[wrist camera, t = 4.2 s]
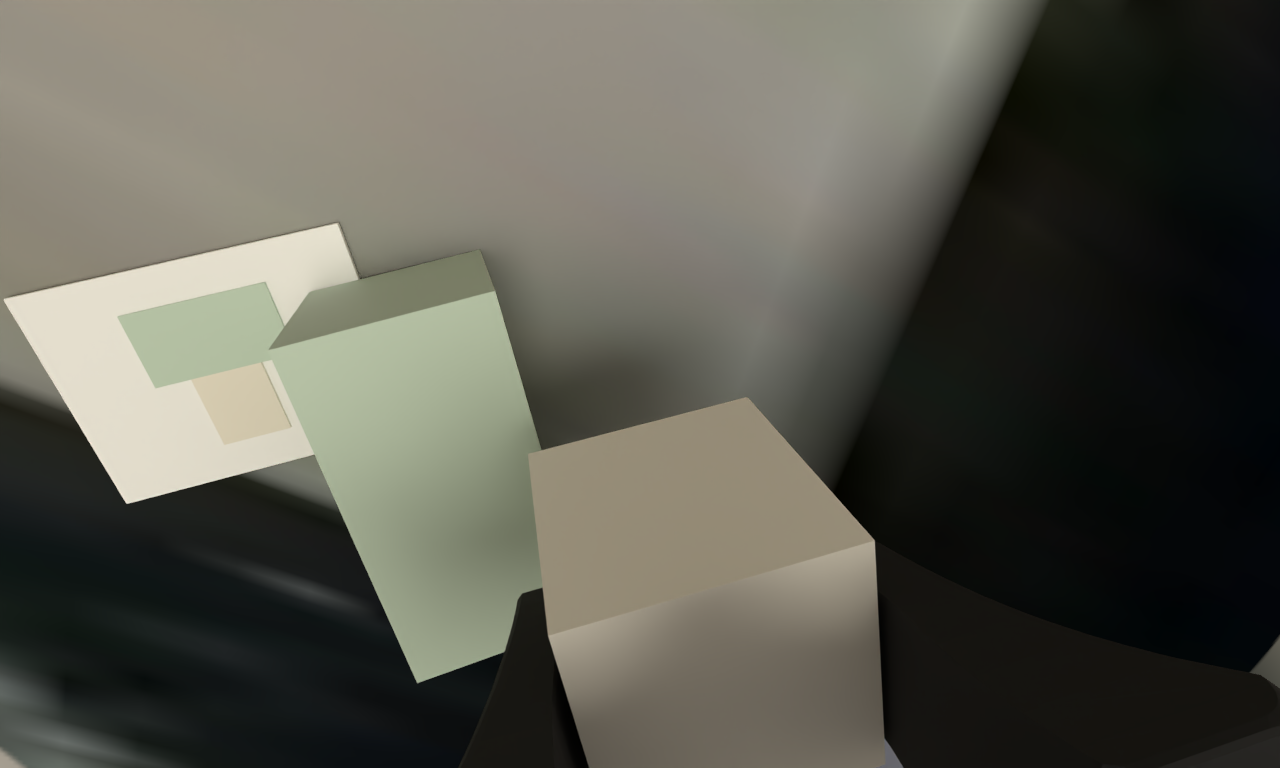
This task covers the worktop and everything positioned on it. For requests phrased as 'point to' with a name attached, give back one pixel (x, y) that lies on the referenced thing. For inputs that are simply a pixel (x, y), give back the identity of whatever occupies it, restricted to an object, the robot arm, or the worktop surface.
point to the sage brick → (423, 449)
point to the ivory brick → (708, 598)
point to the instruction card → (184, 358)
